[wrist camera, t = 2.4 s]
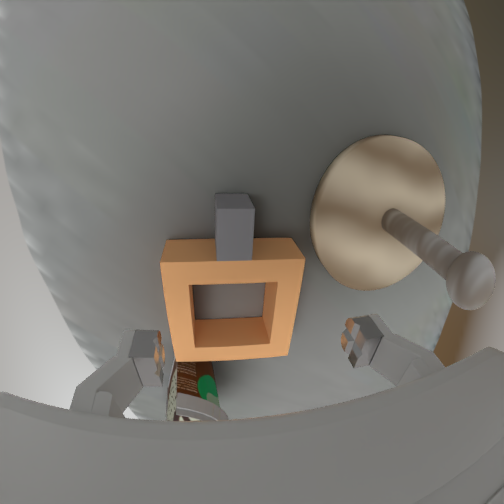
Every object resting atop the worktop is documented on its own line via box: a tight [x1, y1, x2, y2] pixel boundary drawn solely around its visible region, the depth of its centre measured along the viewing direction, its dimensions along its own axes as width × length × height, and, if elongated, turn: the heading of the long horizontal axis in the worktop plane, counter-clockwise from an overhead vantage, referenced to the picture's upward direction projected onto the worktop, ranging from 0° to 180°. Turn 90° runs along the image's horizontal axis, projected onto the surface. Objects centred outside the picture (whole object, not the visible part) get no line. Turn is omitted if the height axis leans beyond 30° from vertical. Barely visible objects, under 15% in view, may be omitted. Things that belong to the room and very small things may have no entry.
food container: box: [166, 356, 229, 421], centre depth 27 cm, size 12×6×10 cm, turn 161°
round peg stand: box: [310, 135, 496, 310], centre depth 19 cm, size 16×16×14 cm
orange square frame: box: [160, 193, 305, 362], centre depth 24 cm, size 15×11×4 cm
